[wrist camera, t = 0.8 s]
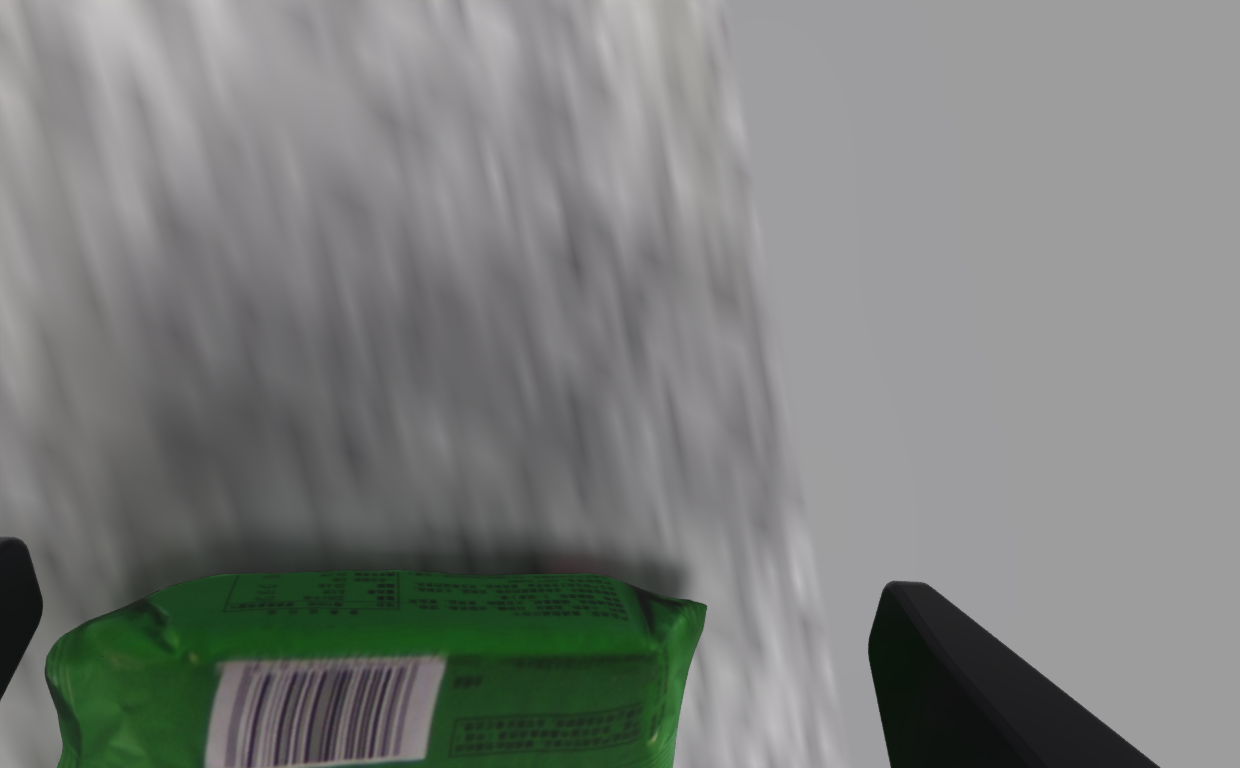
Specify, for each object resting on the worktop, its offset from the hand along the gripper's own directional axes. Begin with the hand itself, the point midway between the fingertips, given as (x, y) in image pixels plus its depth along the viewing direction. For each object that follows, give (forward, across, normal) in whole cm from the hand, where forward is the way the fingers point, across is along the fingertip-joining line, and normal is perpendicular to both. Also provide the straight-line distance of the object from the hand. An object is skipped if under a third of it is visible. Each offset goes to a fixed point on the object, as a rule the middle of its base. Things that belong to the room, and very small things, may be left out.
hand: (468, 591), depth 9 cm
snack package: (+10, +3, +12) cm, 16 cm away
